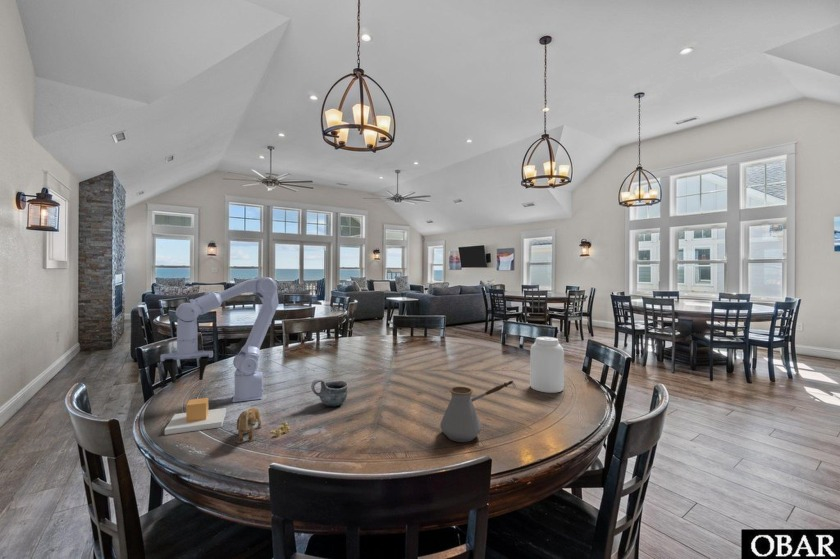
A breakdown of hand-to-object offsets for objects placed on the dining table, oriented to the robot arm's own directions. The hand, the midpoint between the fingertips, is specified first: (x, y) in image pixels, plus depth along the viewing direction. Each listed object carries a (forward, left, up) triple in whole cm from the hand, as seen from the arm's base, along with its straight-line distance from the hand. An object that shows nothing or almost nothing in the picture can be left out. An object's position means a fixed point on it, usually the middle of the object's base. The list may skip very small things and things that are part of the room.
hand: (187, 380), depth 121 cm
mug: (-44, +14, -10) cm, 47 cm away
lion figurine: (-20, +30, -10) cm, 37 cm away
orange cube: (-5, +14, -8) cm, 17 cm away
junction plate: (-5, +14, -9) cm, 18 cm away
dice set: (-28, +30, -10) cm, 42 cm away
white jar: (-126, +26, -10) cm, 129 cm away
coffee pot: (-79, +52, -10) cm, 95 cm away
